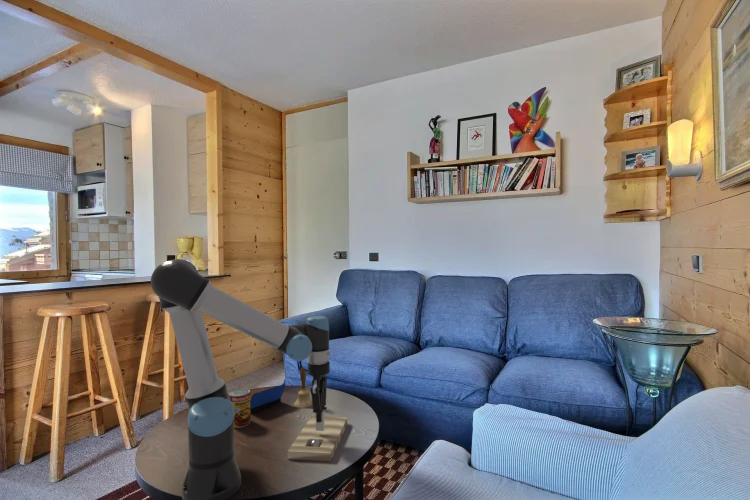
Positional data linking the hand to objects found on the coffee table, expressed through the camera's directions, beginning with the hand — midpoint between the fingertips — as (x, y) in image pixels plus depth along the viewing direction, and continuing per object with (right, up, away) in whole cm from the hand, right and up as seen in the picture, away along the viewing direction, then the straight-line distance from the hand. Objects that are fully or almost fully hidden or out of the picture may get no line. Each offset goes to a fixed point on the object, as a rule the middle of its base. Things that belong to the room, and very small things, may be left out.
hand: (320, 429), depth 133 cm
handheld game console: (-29, -5, +31) cm, 43 cm away
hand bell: (-12, -5, +33) cm, 35 cm away
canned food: (-33, -5, +15) cm, 37 cm away
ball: (-1, -2, -6) cm, 6 cm away
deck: (0, -4, +1) cm, 4 cm away
